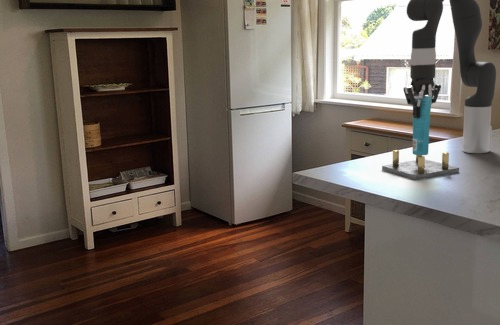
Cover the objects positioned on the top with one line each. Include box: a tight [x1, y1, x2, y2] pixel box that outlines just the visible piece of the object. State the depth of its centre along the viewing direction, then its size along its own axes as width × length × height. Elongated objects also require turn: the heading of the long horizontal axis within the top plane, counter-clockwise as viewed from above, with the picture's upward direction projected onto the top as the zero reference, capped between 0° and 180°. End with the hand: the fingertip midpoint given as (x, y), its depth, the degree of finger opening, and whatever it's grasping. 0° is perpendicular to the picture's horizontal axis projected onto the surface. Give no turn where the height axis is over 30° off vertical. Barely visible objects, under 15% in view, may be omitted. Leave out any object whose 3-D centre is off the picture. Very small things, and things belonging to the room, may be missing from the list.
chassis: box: [381, 149, 460, 181], centre depth 176 cm, size 18×16×6 cm
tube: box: [412, 95, 432, 156], centre depth 173 cm, size 7×5×19 cm, turn 39°
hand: (421, 117), depth 173 cm, fingers closed on tube, 3 cm apart
